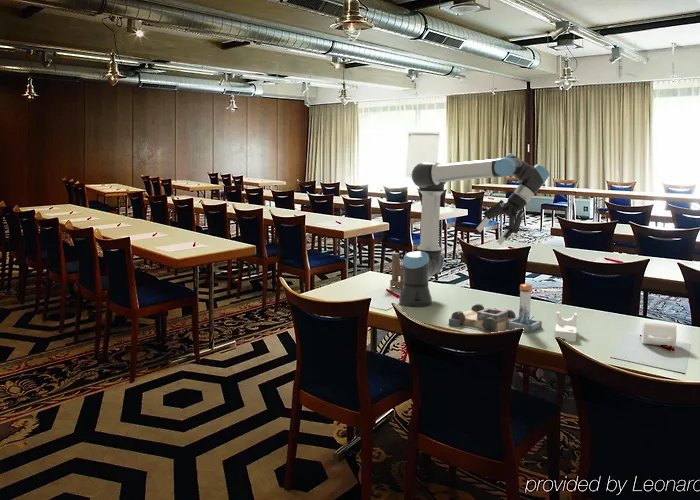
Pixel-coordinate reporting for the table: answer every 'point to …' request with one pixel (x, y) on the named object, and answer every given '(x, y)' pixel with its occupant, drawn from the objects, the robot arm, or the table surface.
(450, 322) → the chock
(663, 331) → the white slotted housing
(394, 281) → the tan notched upright
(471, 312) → the cart deck
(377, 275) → the table surface
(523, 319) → the orange capped tube
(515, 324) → the tray
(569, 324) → the bracket
